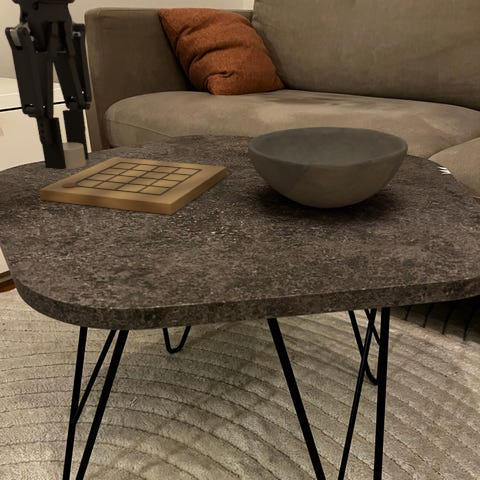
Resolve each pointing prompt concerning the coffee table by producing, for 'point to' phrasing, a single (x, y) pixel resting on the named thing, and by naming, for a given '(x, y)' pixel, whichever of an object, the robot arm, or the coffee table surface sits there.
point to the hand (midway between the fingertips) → (67, 162)
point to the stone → (74, 155)
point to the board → (136, 185)
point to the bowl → (327, 163)
